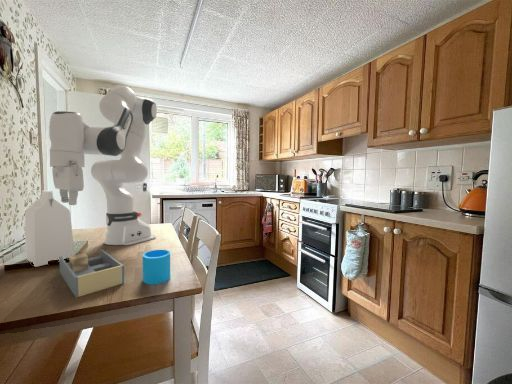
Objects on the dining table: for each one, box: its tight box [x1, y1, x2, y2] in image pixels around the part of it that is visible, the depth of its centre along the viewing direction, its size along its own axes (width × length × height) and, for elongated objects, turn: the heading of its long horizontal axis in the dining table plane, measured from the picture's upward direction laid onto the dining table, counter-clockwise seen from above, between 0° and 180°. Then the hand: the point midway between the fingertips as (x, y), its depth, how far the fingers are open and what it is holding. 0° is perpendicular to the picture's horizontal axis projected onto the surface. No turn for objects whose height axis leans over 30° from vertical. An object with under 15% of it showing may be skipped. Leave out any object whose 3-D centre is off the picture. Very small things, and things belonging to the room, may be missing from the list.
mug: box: [142, 249, 171, 285], centre depth 77 cm, size 12×8×8 cm
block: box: [68, 252, 89, 272], centre depth 75 cm, size 4×4×4 cm
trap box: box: [58, 248, 125, 298], centre depth 75 cm, size 12×22×6 cm, turn 48°
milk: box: [24, 189, 75, 268], centre depth 90 cm, size 12×12×26 cm
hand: (68, 203), depth 78 cm, fingers open, 8 cm apart
